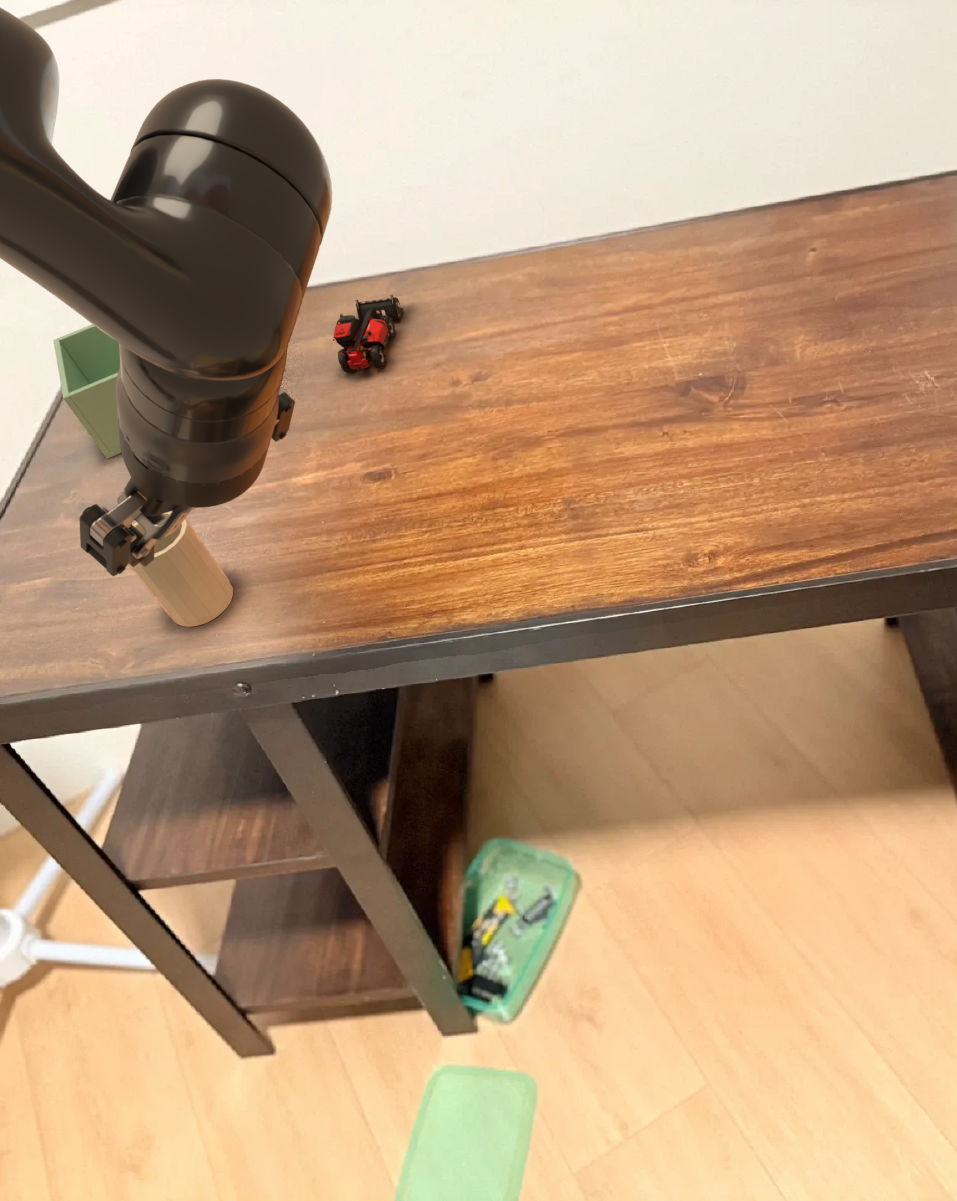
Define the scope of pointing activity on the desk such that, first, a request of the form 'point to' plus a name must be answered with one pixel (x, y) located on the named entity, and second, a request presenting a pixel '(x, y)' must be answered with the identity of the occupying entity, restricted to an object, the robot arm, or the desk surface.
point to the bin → (91, 383)
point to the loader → (366, 333)
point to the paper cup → (185, 577)
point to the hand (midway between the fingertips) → (187, 510)
